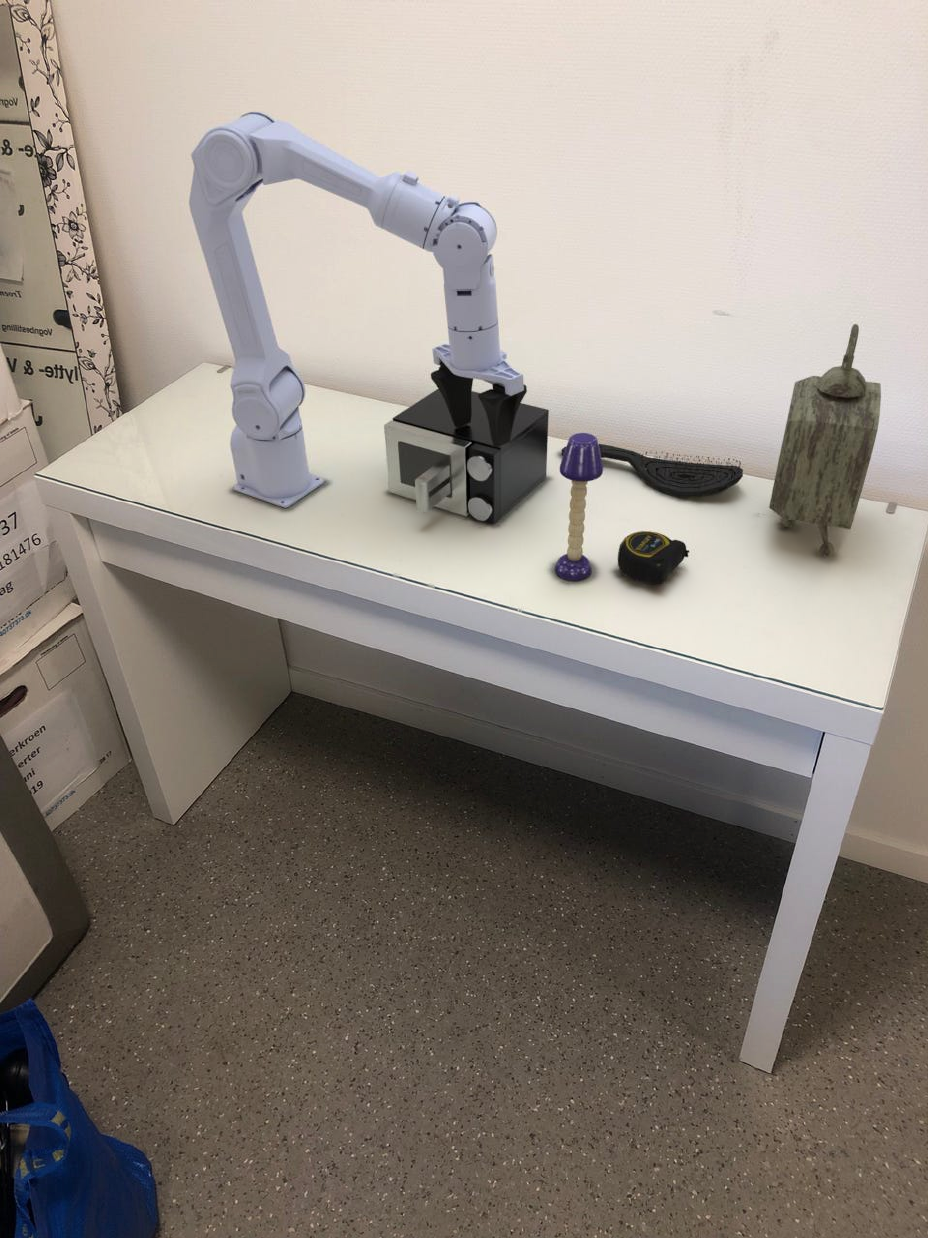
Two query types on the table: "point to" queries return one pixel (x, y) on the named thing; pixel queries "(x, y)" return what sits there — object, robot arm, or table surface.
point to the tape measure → (650, 556)
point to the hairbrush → (677, 473)
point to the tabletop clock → (827, 447)
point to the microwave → (490, 452)
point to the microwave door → (428, 467)
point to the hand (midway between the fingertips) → (481, 433)
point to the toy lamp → (578, 500)
